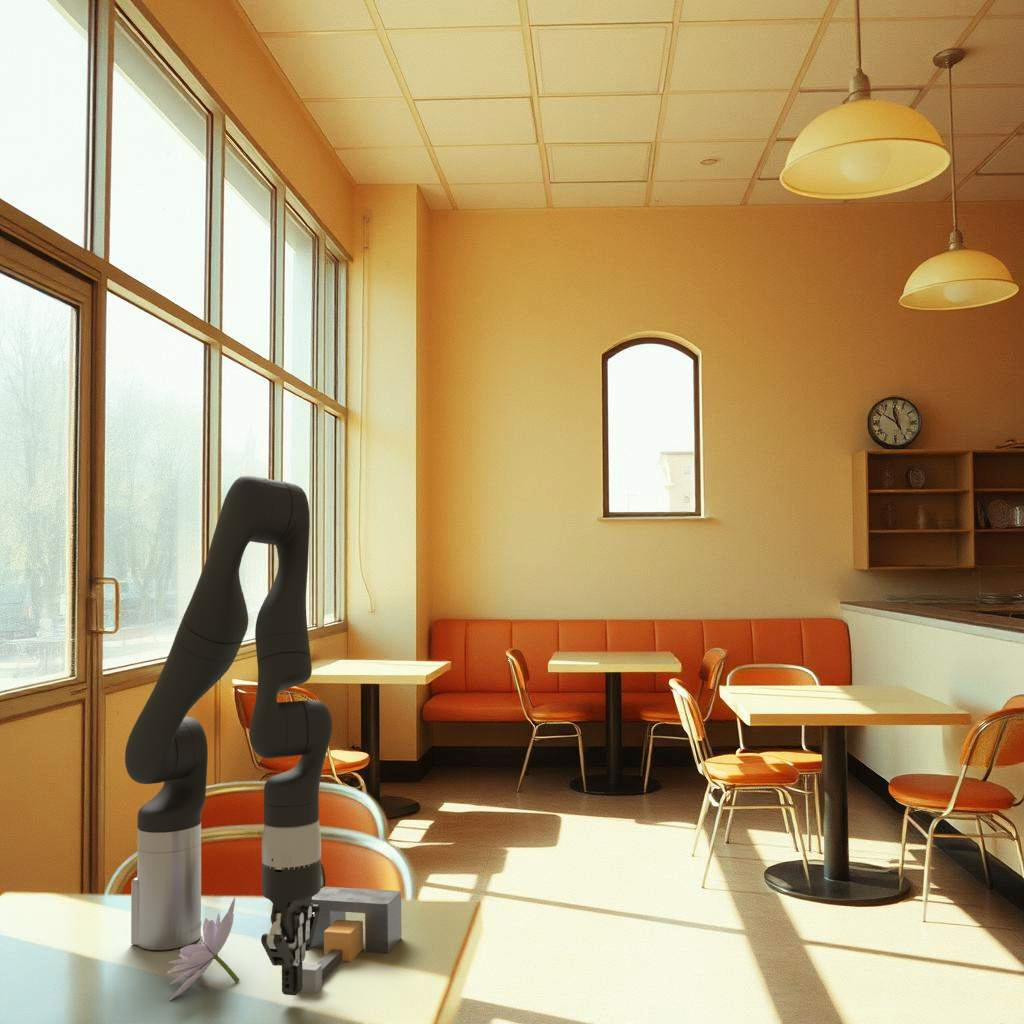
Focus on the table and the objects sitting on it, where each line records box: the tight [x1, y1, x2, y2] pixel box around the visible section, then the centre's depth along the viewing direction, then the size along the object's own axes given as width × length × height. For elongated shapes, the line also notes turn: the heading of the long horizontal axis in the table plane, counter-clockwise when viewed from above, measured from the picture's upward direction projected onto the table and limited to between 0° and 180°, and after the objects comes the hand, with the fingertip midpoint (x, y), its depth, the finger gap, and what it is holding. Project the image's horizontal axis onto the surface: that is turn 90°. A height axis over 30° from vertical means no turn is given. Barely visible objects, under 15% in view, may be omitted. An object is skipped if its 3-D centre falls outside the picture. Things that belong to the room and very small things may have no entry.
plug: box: [299, 919, 364, 994], centre depth 141 cm, size 4×16×4 cm, turn 167°
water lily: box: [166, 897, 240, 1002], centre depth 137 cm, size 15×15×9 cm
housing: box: [310, 886, 402, 954], centre depth 151 cm, size 12×6×7 cm, turn 77°
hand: (292, 992), depth 129 cm, fingers closed
